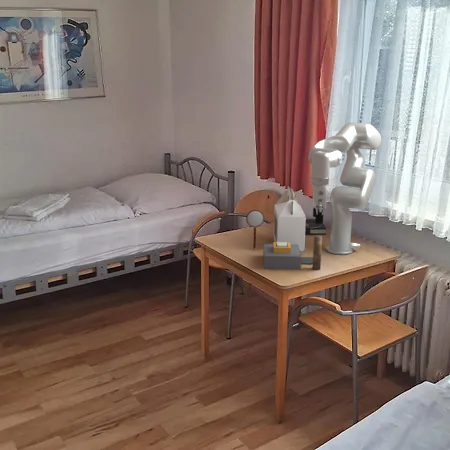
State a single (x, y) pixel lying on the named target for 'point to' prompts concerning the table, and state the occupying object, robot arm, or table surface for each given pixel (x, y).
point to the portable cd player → (314, 228)
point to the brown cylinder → (317, 252)
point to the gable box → (289, 220)
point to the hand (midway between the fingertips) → (317, 220)
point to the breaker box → (281, 256)
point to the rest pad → (307, 260)
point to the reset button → (281, 244)
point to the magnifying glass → (255, 221)
